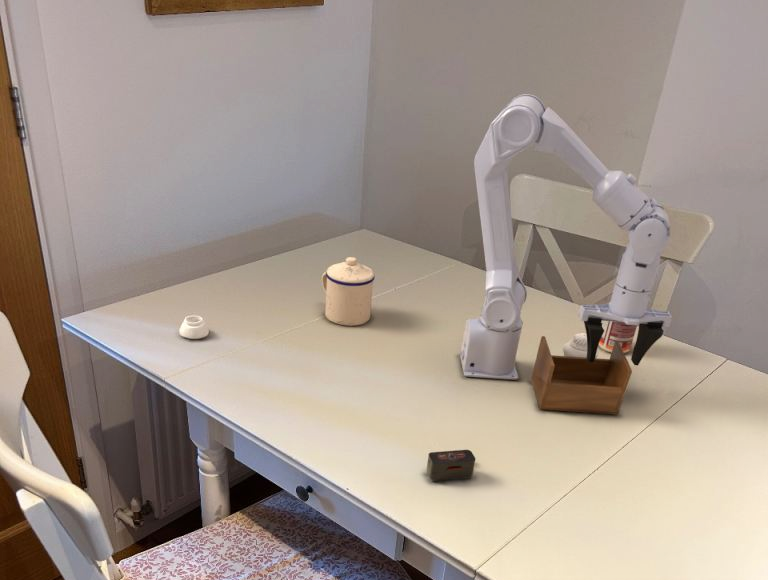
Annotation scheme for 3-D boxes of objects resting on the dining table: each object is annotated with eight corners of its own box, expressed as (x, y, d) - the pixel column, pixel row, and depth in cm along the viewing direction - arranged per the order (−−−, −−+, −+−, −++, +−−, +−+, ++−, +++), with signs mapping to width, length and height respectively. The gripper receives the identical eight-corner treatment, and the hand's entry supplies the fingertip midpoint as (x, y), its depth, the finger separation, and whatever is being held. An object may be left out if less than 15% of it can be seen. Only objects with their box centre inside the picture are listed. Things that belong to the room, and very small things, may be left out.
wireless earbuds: (478, 478, 111) (482, 460, 109) (430, 483, 109) (433, 464, 107) (467, 459, 114) (471, 441, 112) (421, 463, 112) (423, 445, 111)
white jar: (204, 342, 137) (212, 330, 141) (203, 326, 136) (211, 315, 140) (176, 338, 137) (184, 326, 141) (174, 323, 136) (183, 311, 140)
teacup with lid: (380, 319, 151) (386, 261, 145) (346, 331, 146) (349, 271, 139) (339, 297, 158) (342, 241, 151) (304, 308, 152) (306, 250, 146)
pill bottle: (636, 351, 149) (653, 295, 143) (614, 357, 146) (630, 301, 140) (612, 337, 153) (627, 283, 147) (590, 343, 150) (604, 288, 144)
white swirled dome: (559, 374, 139) (567, 338, 135) (558, 358, 144) (566, 323, 140) (594, 379, 138) (604, 344, 134) (592, 363, 143) (601, 329, 139)
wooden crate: (617, 414, 129) (632, 371, 123) (539, 409, 128) (551, 365, 122) (605, 383, 136) (618, 341, 130) (531, 378, 135) (541, 335, 129)
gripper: (594, 291, 120) (575, 369, 128) (686, 298, 121) (661, 375, 129) (584, 274, 126) (566, 349, 134) (672, 281, 127) (649, 355, 135)
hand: (612, 361), depth 132 cm, fingers open, 7 cm apart
